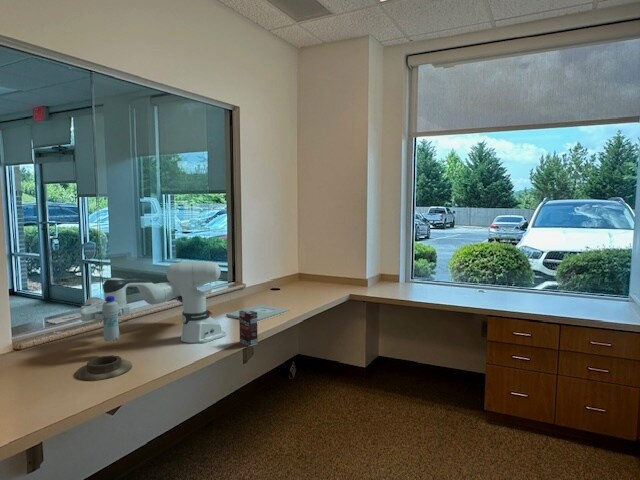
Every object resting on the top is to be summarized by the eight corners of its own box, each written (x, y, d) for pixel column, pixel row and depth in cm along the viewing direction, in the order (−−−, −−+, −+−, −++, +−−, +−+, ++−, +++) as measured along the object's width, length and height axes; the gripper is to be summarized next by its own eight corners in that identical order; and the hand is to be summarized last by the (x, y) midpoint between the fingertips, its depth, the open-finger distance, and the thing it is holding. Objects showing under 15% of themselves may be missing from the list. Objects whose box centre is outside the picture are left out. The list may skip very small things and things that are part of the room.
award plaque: (226, 317, 251) (226, 313, 251) (260, 307, 276) (260, 304, 276) (255, 323, 237) (255, 320, 237) (289, 313, 262) (289, 309, 262)
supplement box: (239, 342, 202) (238, 310, 201) (247, 340, 206) (246, 309, 204) (250, 346, 196) (249, 313, 195) (258, 344, 200) (257, 312, 198)
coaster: (122, 357, 182) (121, 349, 181) (139, 370, 167) (138, 361, 167) (70, 370, 168) (69, 360, 168) (83, 385, 154) (83, 374, 153)
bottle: (122, 337, 188) (121, 294, 186) (115, 342, 181) (114, 297, 179) (107, 337, 187) (105, 294, 186) (100, 342, 181) (98, 297, 179)
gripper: (125, 312, 200) (135, 318, 190) (77, 320, 186) (86, 327, 176) (124, 300, 199) (135, 304, 189) (76, 307, 185) (85, 312, 175)
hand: (111, 315), depth 183 cm, fingers closed on bottle, 6 cm apart
